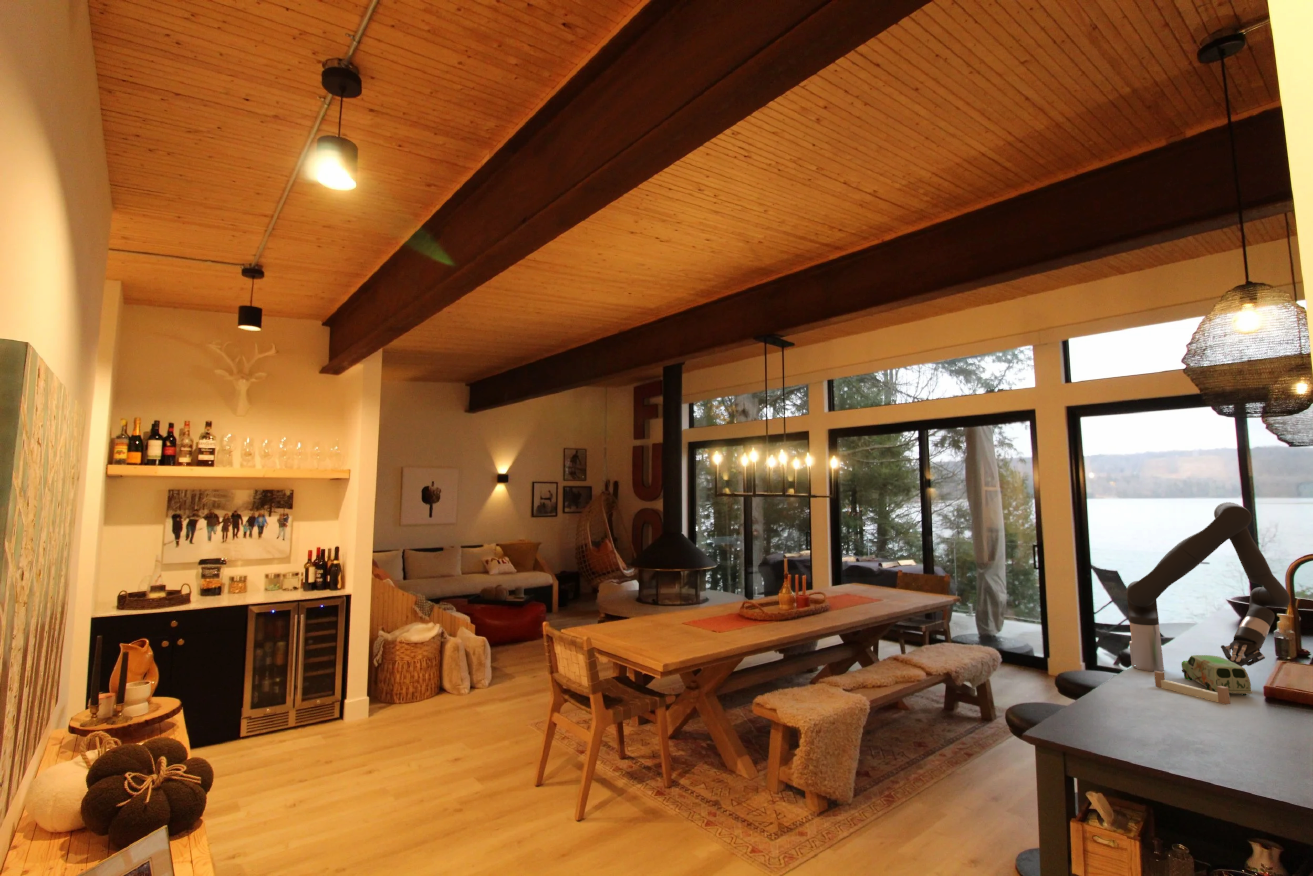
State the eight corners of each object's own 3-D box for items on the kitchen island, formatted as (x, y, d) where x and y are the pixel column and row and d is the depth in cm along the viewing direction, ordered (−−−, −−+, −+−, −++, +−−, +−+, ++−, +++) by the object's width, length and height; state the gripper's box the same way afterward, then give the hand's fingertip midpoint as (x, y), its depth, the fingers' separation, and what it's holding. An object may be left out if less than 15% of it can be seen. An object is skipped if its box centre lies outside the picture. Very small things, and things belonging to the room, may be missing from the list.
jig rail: (1155, 686, 227) (1154, 671, 228) (1159, 685, 228) (1158, 671, 228) (1225, 704, 206) (1223, 688, 207) (1230, 703, 207) (1228, 687, 207)
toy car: (1215, 678, 234) (1212, 650, 235) (1255, 699, 211) (1251, 667, 212) (1180, 677, 237) (1177, 649, 238) (1215, 697, 214) (1212, 666, 215)
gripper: (1224, 622, 235) (1205, 660, 230) (1268, 629, 222) (1248, 669, 218) (1236, 636, 236) (1217, 674, 231) (1280, 643, 223) (1260, 683, 219)
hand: (1232, 672), depth 225 cm, fingers closed
